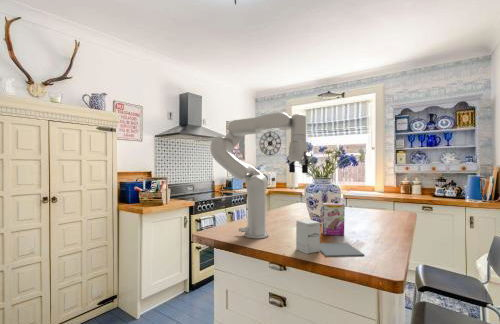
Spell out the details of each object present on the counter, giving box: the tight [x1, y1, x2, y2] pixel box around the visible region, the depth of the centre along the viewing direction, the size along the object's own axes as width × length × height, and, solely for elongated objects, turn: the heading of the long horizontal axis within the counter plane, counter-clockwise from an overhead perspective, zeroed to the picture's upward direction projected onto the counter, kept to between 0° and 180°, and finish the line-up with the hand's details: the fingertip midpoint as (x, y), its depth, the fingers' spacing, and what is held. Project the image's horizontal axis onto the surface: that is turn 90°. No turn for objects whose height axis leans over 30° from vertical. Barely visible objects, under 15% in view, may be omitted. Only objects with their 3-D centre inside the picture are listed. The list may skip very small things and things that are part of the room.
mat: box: [319, 242, 365, 258], centre depth 112 cm, size 16×16×1 cm
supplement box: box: [295, 219, 321, 255], centre depth 111 cm, size 7×7×13 cm
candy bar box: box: [321, 202, 346, 237], centre depth 138 cm, size 11×5×16 cm, turn 84°
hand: (298, 172), depth 130 cm, fingers open, 9 cm apart
